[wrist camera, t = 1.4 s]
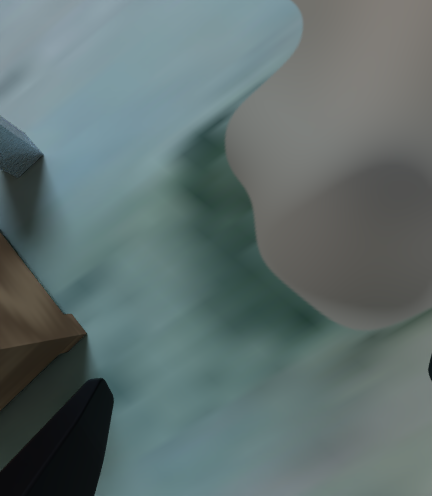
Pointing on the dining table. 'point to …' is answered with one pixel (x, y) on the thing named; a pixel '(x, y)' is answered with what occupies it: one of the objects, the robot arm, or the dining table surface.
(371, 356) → the dining table surface
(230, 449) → the dining table surface
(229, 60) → the dining table surface
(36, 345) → the wood grain box
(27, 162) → the post
